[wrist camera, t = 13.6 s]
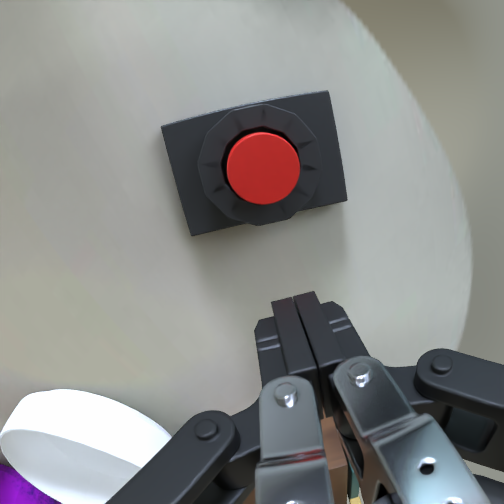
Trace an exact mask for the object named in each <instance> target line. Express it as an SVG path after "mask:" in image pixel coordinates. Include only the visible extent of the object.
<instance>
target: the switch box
mask: <svg viewBox="0 0 504 504" xmlns="http://www.w3.org/2000/svg"><path fill="white" fill-rule="evenodd" d="M161 129H162V133H163V137H164V141H165V145H166V149H167V153H168V156H169V160H170V164H171V167H172V171H173V175H174V178H175V182H176V186H177V189H178V193H179V196H180V200H181V203H182V207H183V210H184V214H185V217H186V220H187V224H188V227H189V230H190V234H191V236H195V235H199V234H203V233H207V232H211V231H215V230H220V229H224V228H228V227H232V226H237V225H241V224H245V223H249V224H252V225H256V226H261V225H265V224H269V223H274V222H278V221H283V220H287V219H290V218H291V217H292V216H293V215H294V214H295V213H296V212H298V211H302V210H307V209H312V208H316V207H321V206H325V205H330V204H335V203H339V202H344V201H347V193H346V186H345V179H344V172H343V166H342V160H341V154H340V148H339V142H338V136H337V131H336V126H335V120H334V115H333V110H332V105H331V100H330V96H329V92H328V91H327V90H326V91H319V92H312V93H305V94H298V95H292V96H286V97H280V98H275V99H269V100H264V101H259V102H254V103H249V104H244V105H240V106H235V107H231V108H227V109H222V110H218V111H214V112H210V113H206V114H202V115H198V116H195V117H191V118H187V119H184V120H180V121H177V122H173V123H170V124H166V125H163V126H161ZM257 132H265V133H270V134H274V135H277V136H280V137H281V138H283V139H285V140H286V141H287V142H288V143H289V144H290V145H291V146H292V147H293V148H294V150H295V151H296V153H297V156H298V159H299V163H300V174H299V178H298V181H297V184H296V186H295V187H294V189H293V190H292V191H291V193H290V194H289V195H288V196H286V197H285V198H284V199H282V200H280V201H278V202H276V203H272V204H267V205H260V204H254V203H251V202H248V201H246V200H244V199H243V198H241V197H240V196H239V195H238V194H237V193H236V192H235V191H234V190H233V188H232V187H231V185H230V183H229V180H228V176H227V160H228V156H229V153H230V151H231V149H232V147H233V146H234V145H235V143H236V142H237V141H238V140H240V139H241V138H243V137H244V136H246V135H248V134H252V133H257Z"/></svg>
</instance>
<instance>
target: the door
mask: <svg viewBox="0 0 504 504" xmlns="http://www.w3.org/2000/svg"><path fill="white" fill-rule="evenodd" d="M334 422H335V426H336V429H337V432H338V426H337V423H336V420H335V417H334ZM342 448H343V446H342ZM343 451H344V454H345V457H346V460H347V464H348V476H347V494H348V498H349V502H350V504H361V501H360V497H358V494H359V483H358V480H357V478H356V476H355V473H354V471H353V469H352V467H351V464H350V462H349V460H348V457H347V455H346V453H345V450H344V448H343Z"/></svg>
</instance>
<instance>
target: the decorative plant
mask: <svg viewBox="0 0 504 504" xmlns="http://www.w3.org/2000/svg"><path fill="white" fill-rule="evenodd" d="M0 504H61V502H59V501H57V500H55V499H53V498H52V497H50V496H48V495H47V494H45V493H44V492H42V491H41V490H39V489H38V488H36V487H35V486H34V485H32V484H31V483H30V482H28V481H27V480H26V479H25V478H24V477H23V476H21V475H20V474H19V473H18V472H17V471H16V470H15V469H13V468H11V467H8V466H5V465H3V464H0Z"/></svg>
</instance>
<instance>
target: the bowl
mask: <svg viewBox="0 0 504 504" xmlns="http://www.w3.org/2000/svg"><path fill="white" fill-rule="evenodd" d="M171 438H172V436H171V435H170V434H169V433H168V432H167V431H166V430H165V429H164V428H162V427H161V426H160V425H158V424H157V423H156V422H154V421H153V420H152V419H150V418H148V417H147V416H145V415H143V414H141V413H140V412H138V411H136V410H134V409H132V408H130V407H128V406H126V405H124V404H122V403H119V402H117V401H114V400H111V399H109V398H106V397H103V396H99V395H96V394H92V393H88V392H84V391H77V390H70V389H56V390H52V391H47V392H37V393H33V394H29V395H28V396H26V397H24V398H23V399H22V400H21V401H20V402H19V404H18V405H17V407H16V408H15V410H14V411H13V413H12V414H11V416H10V417H9V419H8V421H7V423H6V424H5V426H4V428H3V430H2V432H1V434H0V447H1V450H2V452H3V454H4V456H5V457H6V459H7V460H8V462H9V463H10V464H11V465H12V466H13V468H14V469H15V470H16V471H17V472H18V473H19V474H20V475H21V476H23V477H24V478H25V479H26V480H27V481H28V482H30V483H31V484H32V485H34V486H35V487H36V488H38V489H39V490H41V491H42V492H44V493H45V494H47V495H48V496H50V497H52V498H53V499H55V500H57V501H59V502H61V503H63V504H105V503H106V502H107V501H108V500H109V499H110V498H111V497H112V496H113V495H115V494H116V493H117V492H118V491H119V490H120V489H121V488H122V487H123V486H124V485H125V484H126V483H127V482H128V481H129V480H130V479H131V478H132V477H133V476H134V475H135V474H136V473H137V472H138V471H139V470H140V469H141V468H142V467H143V466H144V465H145V464H146V463H148V462H149V461H150V460H151V458H152V457H153V456H154V455H155V454H156V453H157V452H158V451H159V450H160V449H161V448H162V447H163V446H164V445H165V444H166V443H167V442H168V441H169V440H170V439H171Z"/></svg>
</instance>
